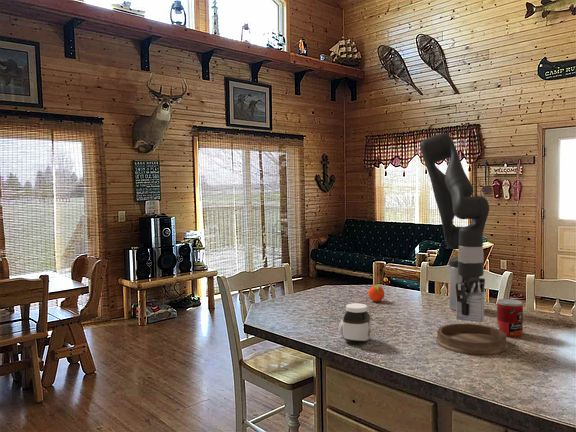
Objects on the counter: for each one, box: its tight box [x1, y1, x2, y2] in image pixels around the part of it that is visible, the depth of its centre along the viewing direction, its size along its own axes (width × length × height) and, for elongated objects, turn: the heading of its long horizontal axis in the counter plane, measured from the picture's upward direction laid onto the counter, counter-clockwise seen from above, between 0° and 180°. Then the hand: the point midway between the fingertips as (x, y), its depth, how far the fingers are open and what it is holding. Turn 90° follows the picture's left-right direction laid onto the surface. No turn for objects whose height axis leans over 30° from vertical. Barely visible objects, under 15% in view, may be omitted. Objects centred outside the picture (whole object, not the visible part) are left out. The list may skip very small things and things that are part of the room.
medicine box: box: [455, 292, 485, 323], centre depth 151 cm, size 8×4×9 cm, turn 63°
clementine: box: [367, 284, 385, 303], centre depth 208 cm, size 8×7×7 cm
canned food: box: [496, 298, 524, 338], centre depth 160 cm, size 8×8×11 cm
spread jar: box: [337, 302, 372, 345], centre depth 158 cm, size 12×11×12 cm
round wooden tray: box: [436, 323, 509, 356], centre depth 151 cm, size 21×21×4 cm
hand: (470, 313), depth 151 cm, fingers closed on medicine box, 5 cm apart
